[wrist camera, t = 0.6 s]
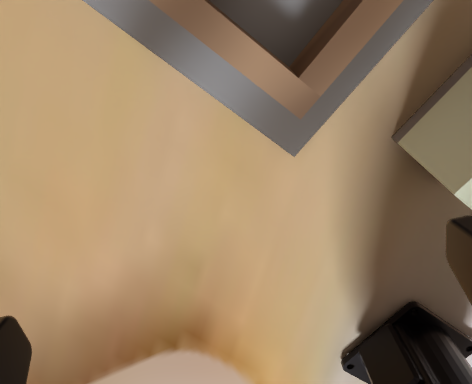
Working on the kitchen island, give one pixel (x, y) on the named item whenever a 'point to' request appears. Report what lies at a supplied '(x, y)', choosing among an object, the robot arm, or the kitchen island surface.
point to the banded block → (445, 134)
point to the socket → (270, 52)
